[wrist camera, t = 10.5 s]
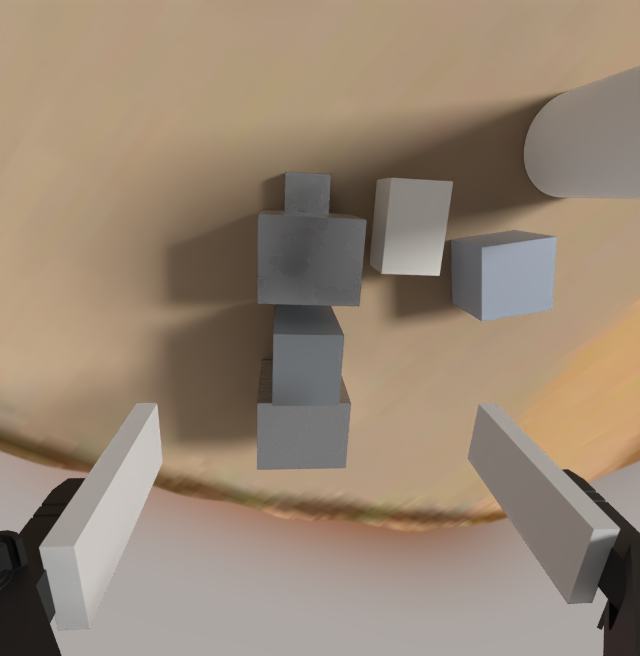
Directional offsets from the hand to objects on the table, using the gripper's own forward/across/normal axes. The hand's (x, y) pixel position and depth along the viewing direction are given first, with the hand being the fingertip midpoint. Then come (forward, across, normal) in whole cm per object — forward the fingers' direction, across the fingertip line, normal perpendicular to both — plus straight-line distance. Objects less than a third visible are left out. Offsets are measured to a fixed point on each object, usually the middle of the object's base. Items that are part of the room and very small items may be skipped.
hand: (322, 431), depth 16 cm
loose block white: (+16, +7, +7) cm, 19 cm away
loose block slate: (+16, +14, +4) cm, 21 cm away
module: (+14, 0, -1) cm, 14 cm away
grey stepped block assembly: (+16, 0, 0) cm, 16 cm away
